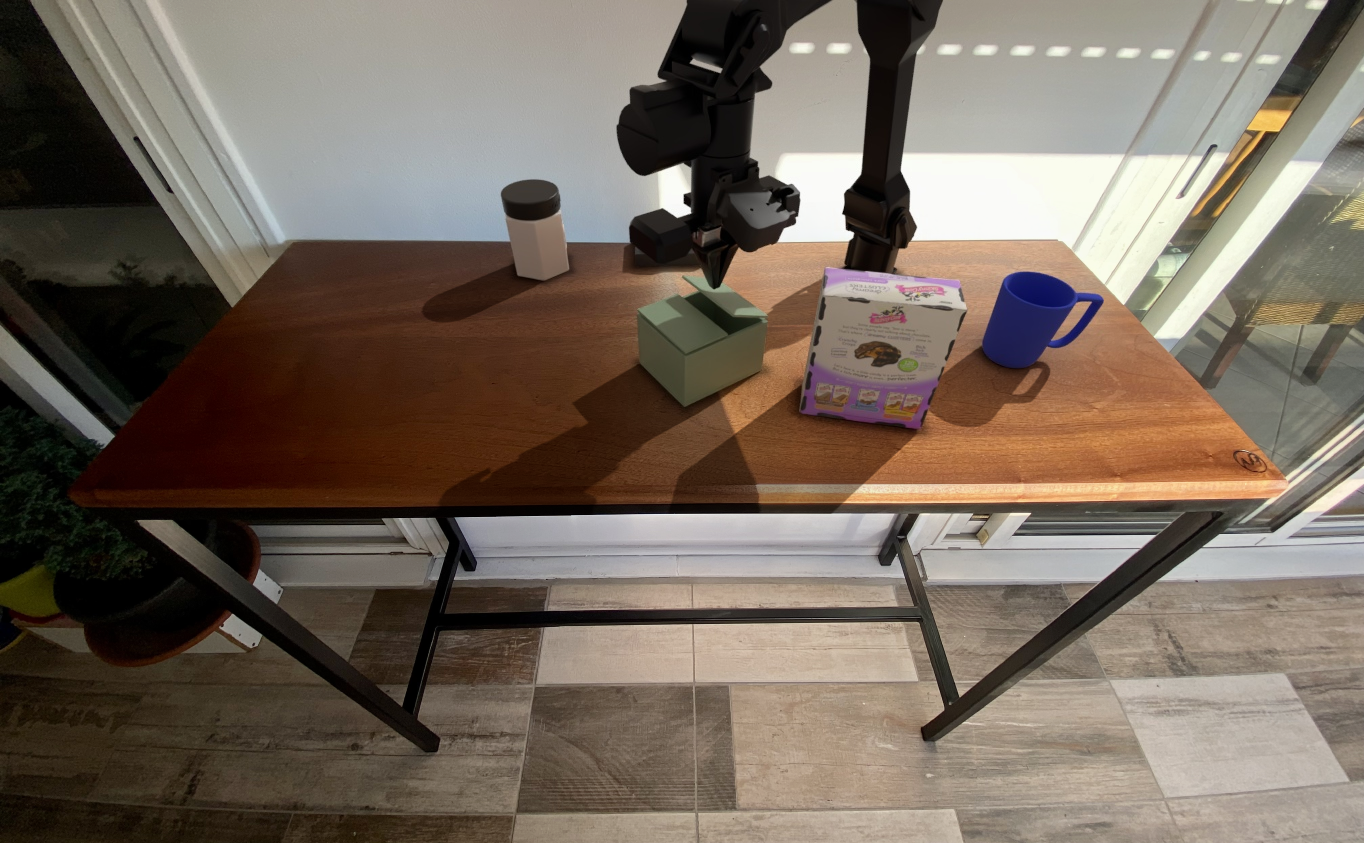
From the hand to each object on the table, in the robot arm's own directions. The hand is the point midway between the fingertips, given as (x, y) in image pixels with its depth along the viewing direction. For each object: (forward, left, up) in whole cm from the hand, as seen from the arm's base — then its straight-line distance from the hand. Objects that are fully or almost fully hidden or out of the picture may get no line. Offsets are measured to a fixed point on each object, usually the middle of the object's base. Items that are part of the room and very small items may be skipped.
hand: (714, 287), depth 68 cm
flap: (0, -2, -2) cm, 3 cm away
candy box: (-18, -5, -11) cm, 22 cm away
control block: (+22, -17, -11) cm, 30 cm away
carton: (0, +2, -11) cm, 11 cm away
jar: (+34, -1, -11) cm, 36 cm away
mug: (-30, -28, -11) cm, 42 cm away
